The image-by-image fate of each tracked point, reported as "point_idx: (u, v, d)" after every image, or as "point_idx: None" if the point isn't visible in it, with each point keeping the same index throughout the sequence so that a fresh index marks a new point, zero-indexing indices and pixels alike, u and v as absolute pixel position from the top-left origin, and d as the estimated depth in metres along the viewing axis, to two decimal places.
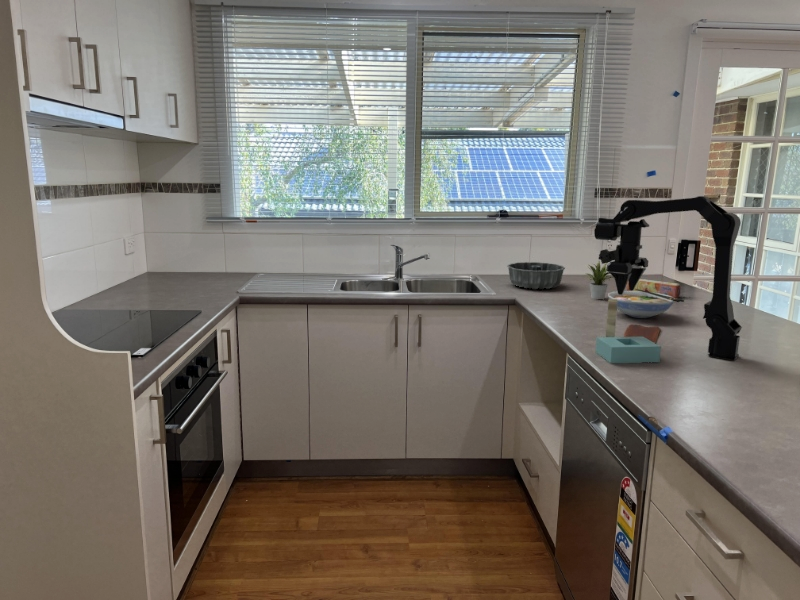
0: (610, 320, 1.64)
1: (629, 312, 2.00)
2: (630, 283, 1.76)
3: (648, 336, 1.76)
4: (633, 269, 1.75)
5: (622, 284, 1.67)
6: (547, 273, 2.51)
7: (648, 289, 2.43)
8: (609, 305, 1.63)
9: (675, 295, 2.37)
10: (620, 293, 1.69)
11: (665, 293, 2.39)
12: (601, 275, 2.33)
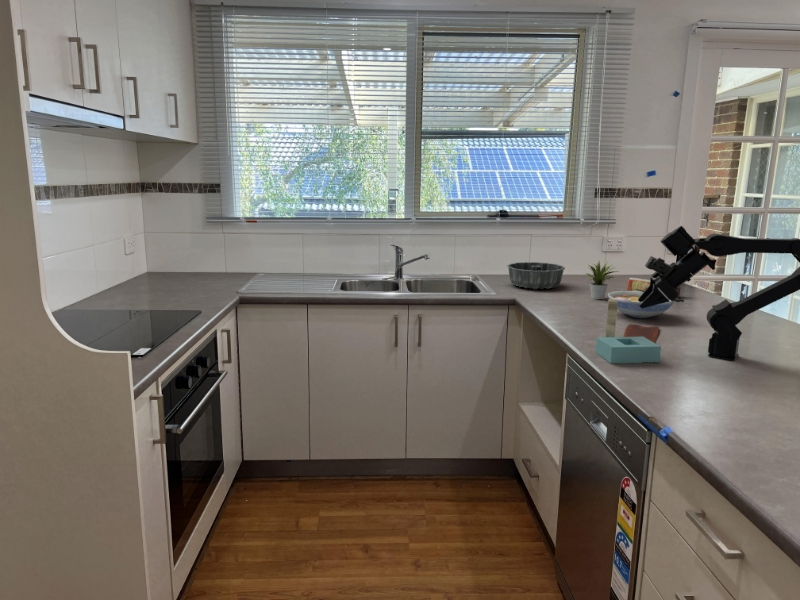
0: (610, 320, 1.64)
1: (629, 312, 2.00)
2: (644, 295, 1.66)
3: (648, 336, 1.76)
4: (657, 286, 1.65)
5: (652, 302, 1.56)
6: (547, 273, 2.51)
7: None
8: (609, 305, 1.63)
9: None
10: (642, 307, 1.58)
11: None
12: (601, 275, 2.33)
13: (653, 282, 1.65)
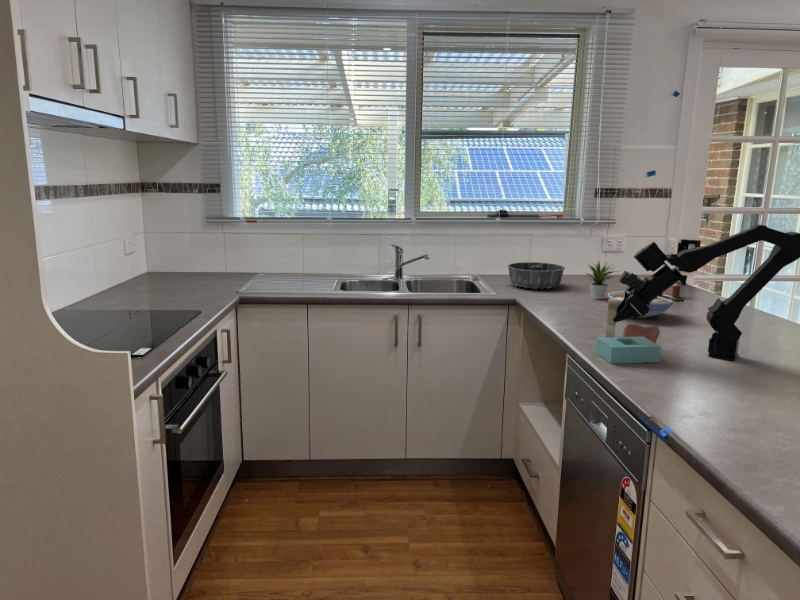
0: (610, 320, 1.64)
1: None
2: (618, 309, 1.69)
3: (647, 335, 1.76)
4: None
5: (625, 316, 1.59)
6: (547, 273, 2.51)
7: None
8: (609, 305, 1.63)
9: (672, 295, 2.36)
10: (615, 320, 1.61)
11: (663, 293, 2.39)
12: (601, 275, 2.33)
13: (627, 296, 1.68)
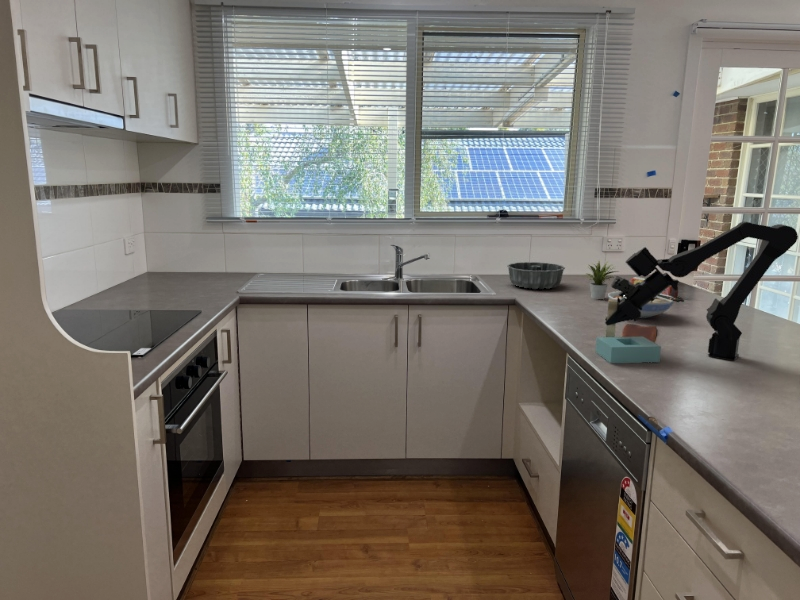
0: None
1: None
2: None
3: (647, 335, 1.76)
4: None
5: (617, 320, 1.62)
6: (547, 273, 2.51)
7: None
8: (609, 305, 1.63)
9: None
10: (607, 324, 1.64)
11: (660, 293, 2.39)
12: (601, 275, 2.33)
13: (620, 302, 1.67)
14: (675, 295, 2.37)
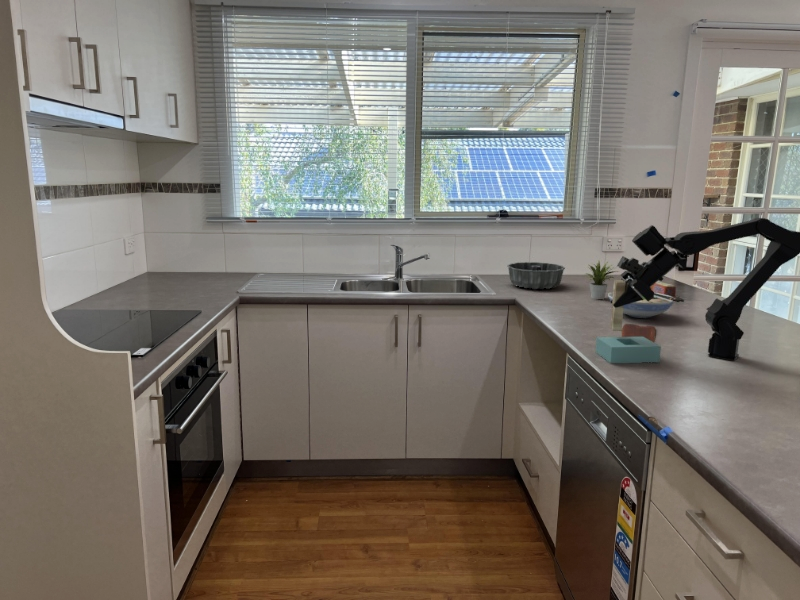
0: None
1: (629, 312, 2.00)
2: None
3: (646, 335, 1.76)
4: None
5: (626, 301, 1.57)
6: (547, 273, 2.51)
7: None
8: (617, 286, 1.58)
9: None
10: (615, 306, 1.58)
11: None
12: (601, 275, 2.33)
13: (625, 283, 1.61)
14: (672, 295, 2.36)
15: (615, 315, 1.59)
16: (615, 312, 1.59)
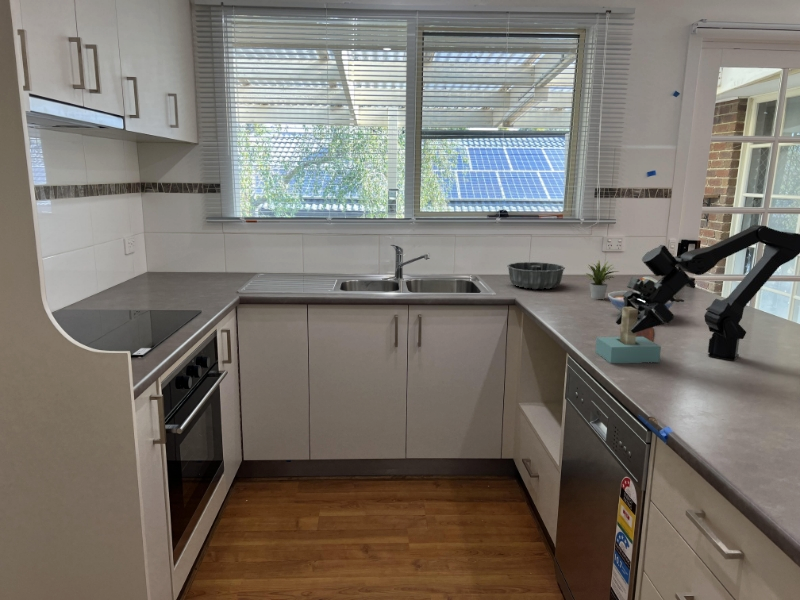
0: None
1: None
2: (621, 317, 1.59)
3: (645, 335, 1.77)
4: (633, 307, 1.59)
5: (645, 326, 1.49)
6: (547, 273, 2.51)
7: None
8: (630, 314, 1.52)
9: None
10: (633, 331, 1.50)
11: None
12: (601, 275, 2.33)
13: (629, 303, 1.59)
14: None
15: (628, 344, 1.54)
16: (628, 340, 1.53)
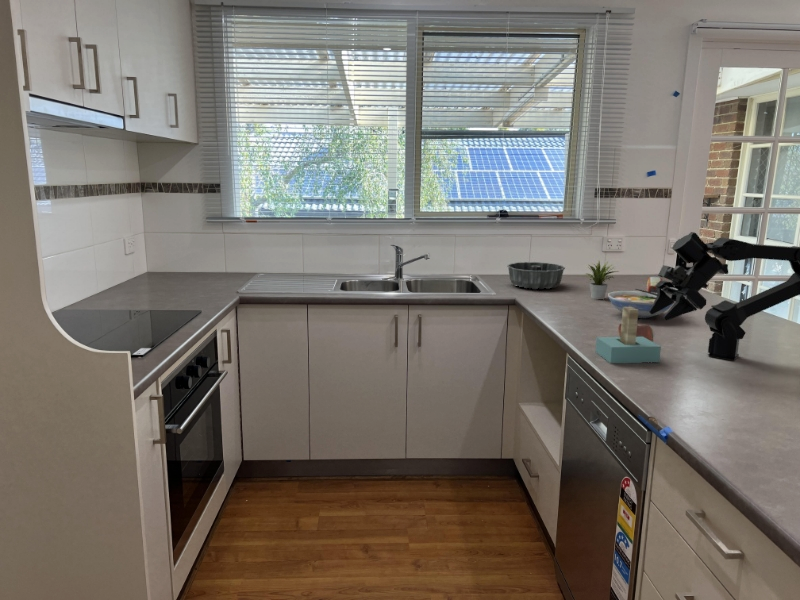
0: (631, 330, 1.53)
1: None
2: (655, 306, 1.59)
3: (644, 335, 1.77)
4: (666, 296, 1.59)
5: (678, 313, 1.49)
6: (547, 273, 2.51)
7: None
8: (630, 314, 1.52)
9: None
10: (666, 318, 1.50)
11: None
12: (601, 275, 2.33)
13: (662, 292, 1.59)
14: None
15: (628, 344, 1.54)
16: (628, 340, 1.53)
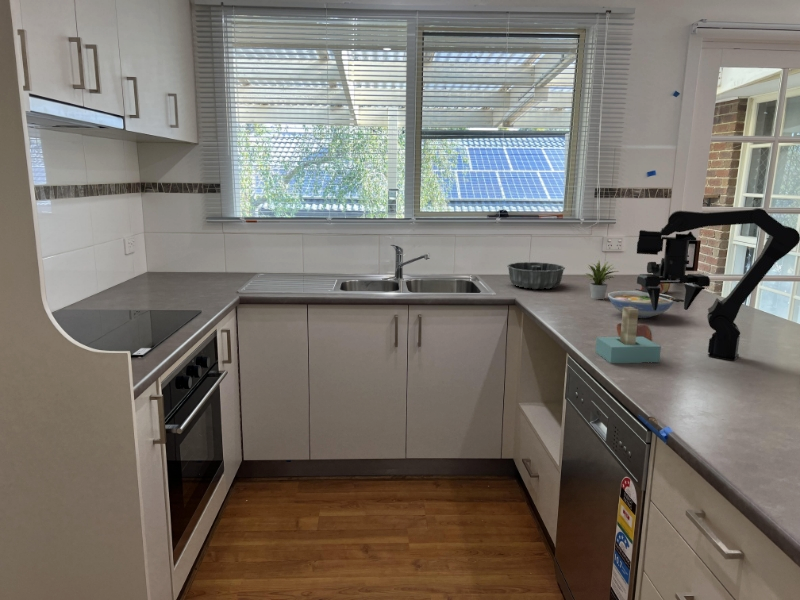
0: (631, 330, 1.53)
1: None
2: (685, 302, 1.61)
3: (643, 334, 1.77)
4: (689, 287, 1.60)
5: (653, 299, 1.59)
6: (547, 273, 2.51)
7: None
8: (630, 314, 1.52)
9: None
10: (654, 308, 1.61)
11: None
12: (601, 275, 2.33)
13: (686, 286, 1.62)
14: None
15: (628, 344, 1.54)
16: (628, 340, 1.53)
